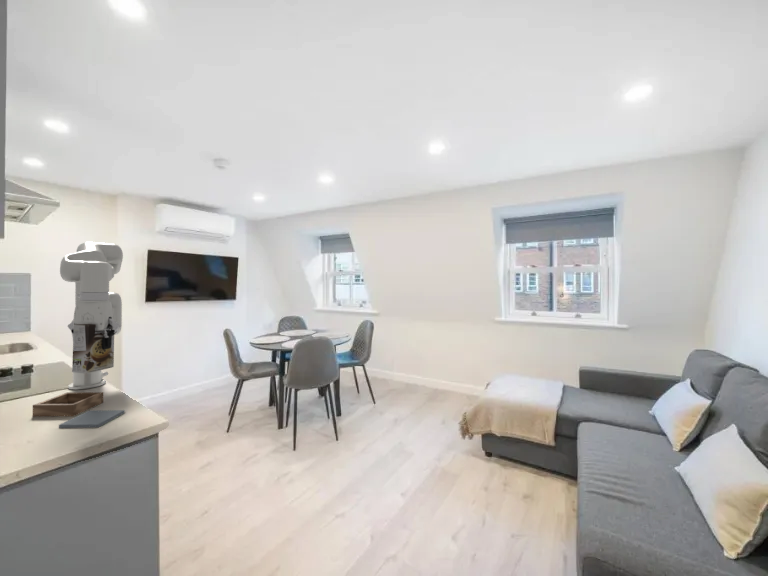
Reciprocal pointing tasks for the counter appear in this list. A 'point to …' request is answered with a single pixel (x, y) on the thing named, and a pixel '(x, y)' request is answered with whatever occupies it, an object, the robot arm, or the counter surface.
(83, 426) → the slate mat
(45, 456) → the counter surface
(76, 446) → the counter surface
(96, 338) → the dessert mix box
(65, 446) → the counter surface
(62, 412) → the walnut dock
